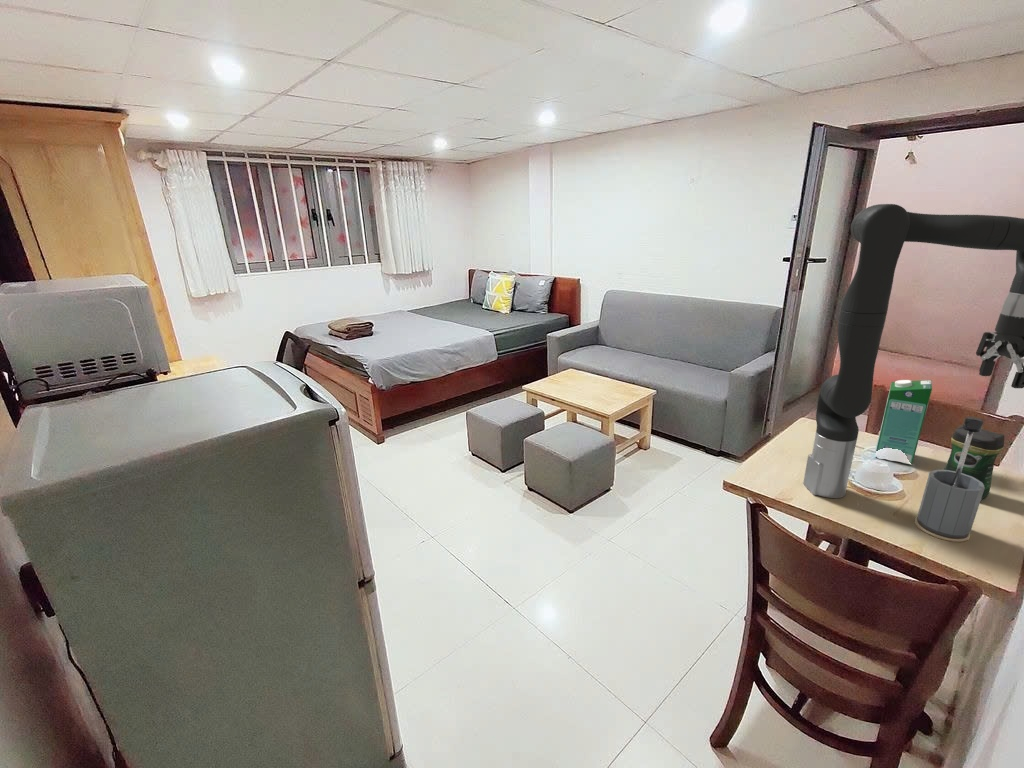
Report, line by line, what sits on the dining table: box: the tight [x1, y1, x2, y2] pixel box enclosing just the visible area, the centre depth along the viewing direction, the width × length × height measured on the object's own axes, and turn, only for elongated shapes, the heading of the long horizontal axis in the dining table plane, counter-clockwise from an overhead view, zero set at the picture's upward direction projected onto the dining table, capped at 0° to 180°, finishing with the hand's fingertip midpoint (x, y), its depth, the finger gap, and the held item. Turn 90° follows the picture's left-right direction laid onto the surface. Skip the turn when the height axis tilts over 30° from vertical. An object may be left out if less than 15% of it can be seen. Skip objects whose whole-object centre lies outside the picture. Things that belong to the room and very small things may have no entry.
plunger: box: [945, 416, 985, 489], centre depth 106 cm, size 7×7×19 cm
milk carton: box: [875, 379, 933, 465], centre depth 142 cm, size 9×9×25 cm
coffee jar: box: [943, 424, 1005, 500], centre depth 124 cm, size 10×8×19 cm
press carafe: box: [914, 469, 985, 543], centre depth 111 cm, size 10×10×14 cm
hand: (1000, 381), depth 109 cm, fingers open, 8 cm apart
